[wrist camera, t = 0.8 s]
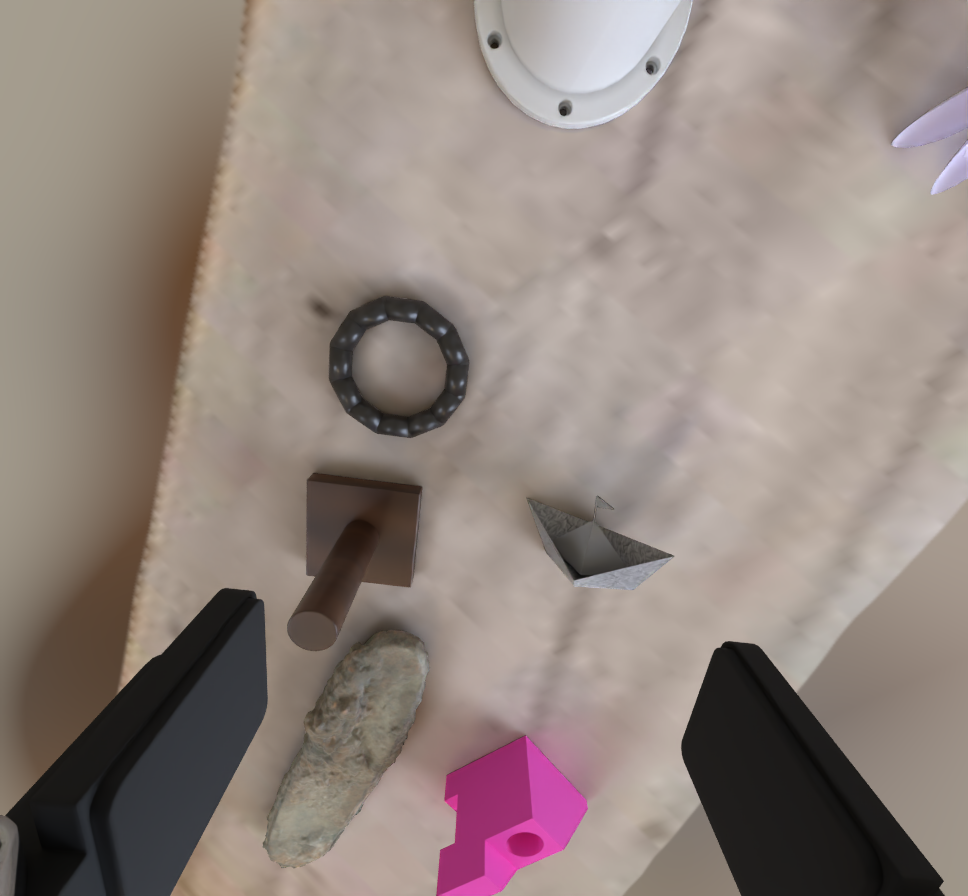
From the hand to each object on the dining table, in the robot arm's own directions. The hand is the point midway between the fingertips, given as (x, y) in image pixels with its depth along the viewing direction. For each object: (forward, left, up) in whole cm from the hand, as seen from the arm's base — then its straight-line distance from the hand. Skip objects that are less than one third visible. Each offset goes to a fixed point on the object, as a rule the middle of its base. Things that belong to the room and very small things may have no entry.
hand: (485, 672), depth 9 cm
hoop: (-1, -7, -26) cm, 27 cm away
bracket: (+43, +9, -27) cm, 52 cm away
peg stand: (+13, -9, -27) cm, 31 cm away
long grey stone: (+39, -10, -27) cm, 48 cm away
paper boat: (+10, +10, -27) cm, 31 cm away
